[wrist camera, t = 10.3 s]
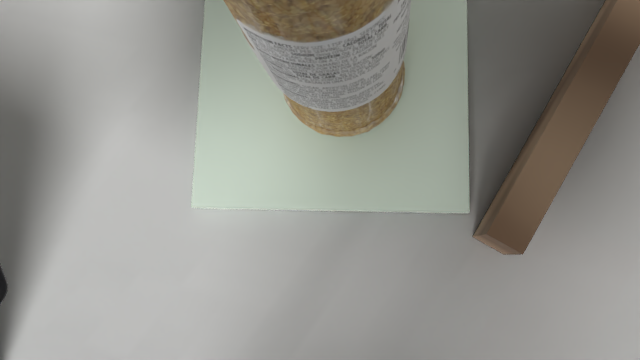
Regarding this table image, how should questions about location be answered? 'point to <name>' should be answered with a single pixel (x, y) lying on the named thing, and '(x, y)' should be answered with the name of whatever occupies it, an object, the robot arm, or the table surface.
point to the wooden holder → (562, 128)
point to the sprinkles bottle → (331, 57)
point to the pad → (330, 151)
